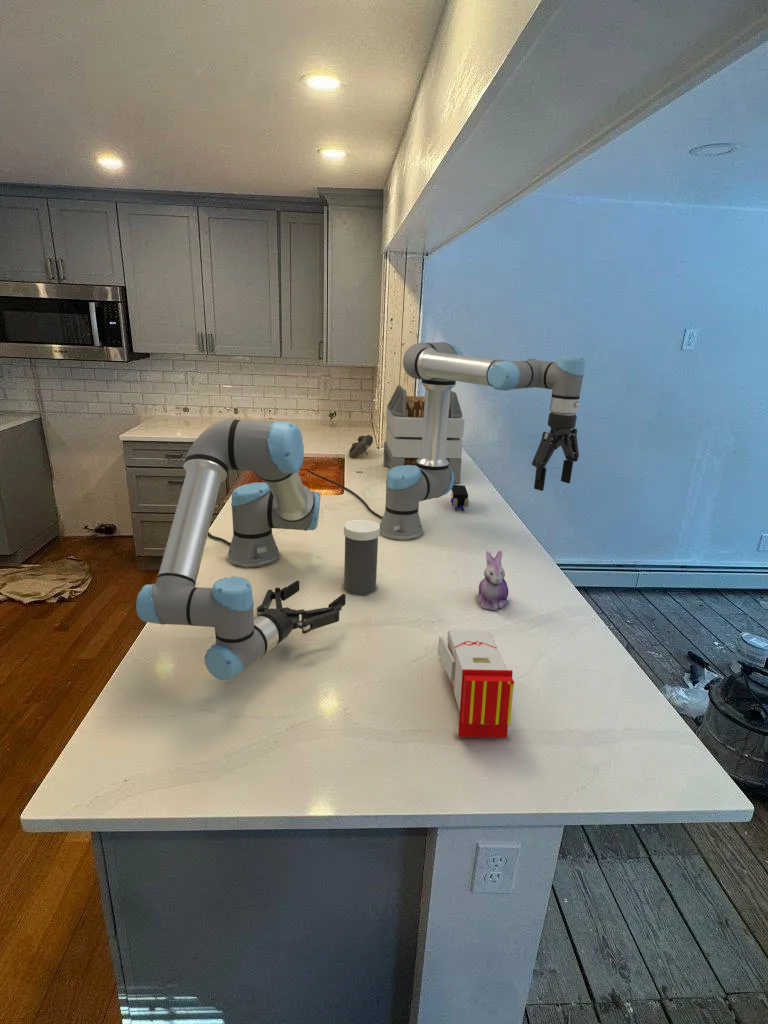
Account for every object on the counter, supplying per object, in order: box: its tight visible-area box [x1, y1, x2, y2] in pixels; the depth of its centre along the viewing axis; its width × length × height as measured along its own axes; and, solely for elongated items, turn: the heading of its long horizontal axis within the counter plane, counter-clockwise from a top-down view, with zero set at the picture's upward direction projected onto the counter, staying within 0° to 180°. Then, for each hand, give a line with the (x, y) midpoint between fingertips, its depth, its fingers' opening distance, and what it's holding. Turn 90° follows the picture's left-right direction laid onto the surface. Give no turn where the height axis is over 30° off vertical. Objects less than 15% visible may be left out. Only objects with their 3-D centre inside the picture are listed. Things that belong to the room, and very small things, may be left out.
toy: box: [437, 628, 515, 738], centre depth 117 cm, size 12×13×30 cm
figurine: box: [477, 549, 509, 611], centre depth 153 cm, size 9×10×15 cm
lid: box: [343, 519, 381, 541], centre depth 154 cm, size 10×10×2 cm
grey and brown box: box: [383, 384, 465, 484], centre depth 268 cm, size 34×33×41 cm
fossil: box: [348, 434, 374, 459], centre depth 303 cm, size 22×10×15 cm
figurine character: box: [449, 484, 470, 512], centre depth 229 cm, size 7×8×15 cm
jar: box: [343, 535, 379, 596], centre depth 157 cm, size 9×9×18 cm
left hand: (320, 592), depth 141 cm, fingers open, 13 cm apart
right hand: (552, 485), depth 166 cm, fingers open, 13 cm apart
